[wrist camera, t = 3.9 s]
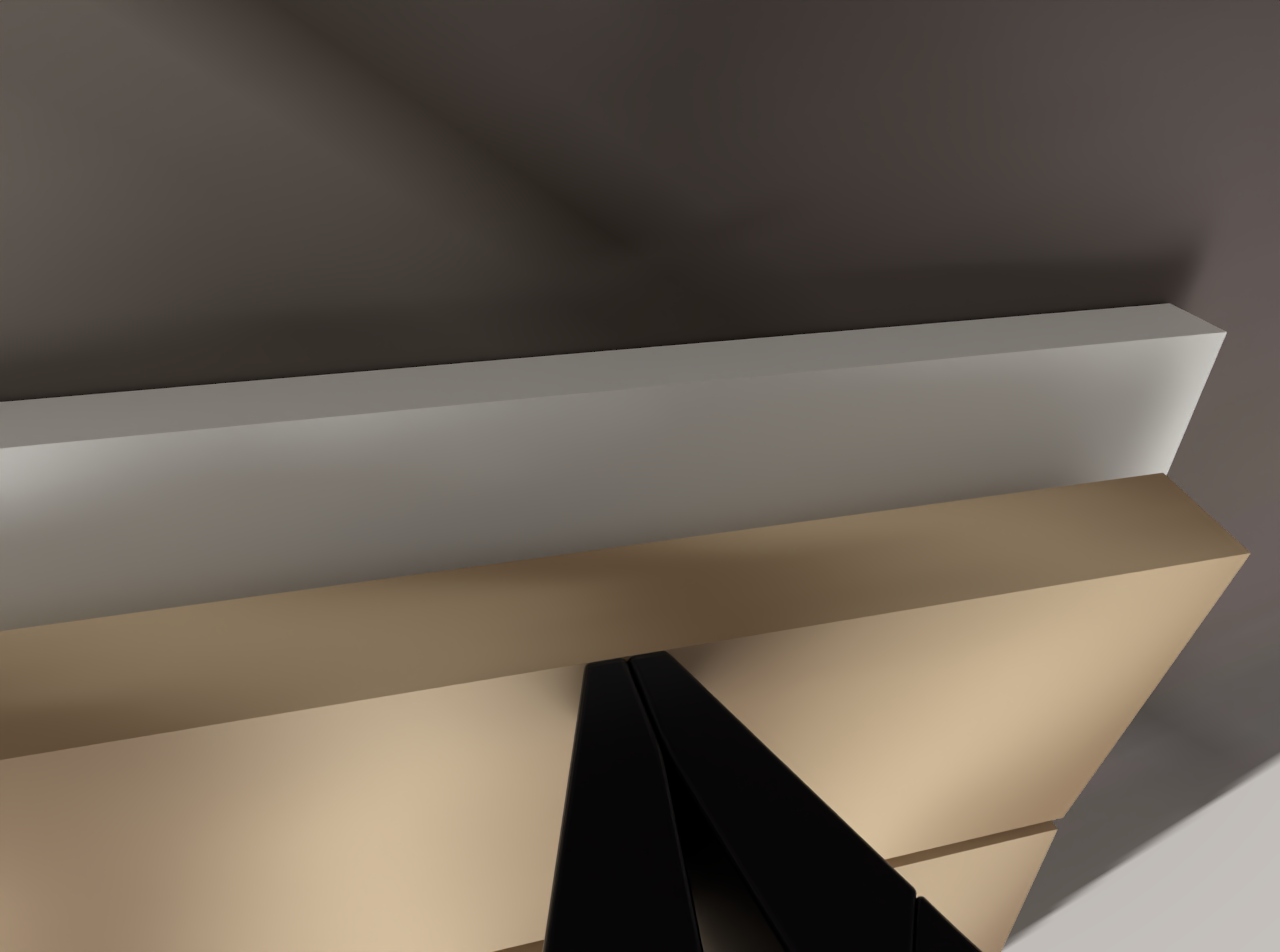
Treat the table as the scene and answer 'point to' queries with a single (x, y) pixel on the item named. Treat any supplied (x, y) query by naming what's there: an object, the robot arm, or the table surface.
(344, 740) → the raised plank
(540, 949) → the laid plank
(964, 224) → the table surface
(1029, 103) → the table surface
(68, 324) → the table surface
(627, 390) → the board
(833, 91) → the table surface
